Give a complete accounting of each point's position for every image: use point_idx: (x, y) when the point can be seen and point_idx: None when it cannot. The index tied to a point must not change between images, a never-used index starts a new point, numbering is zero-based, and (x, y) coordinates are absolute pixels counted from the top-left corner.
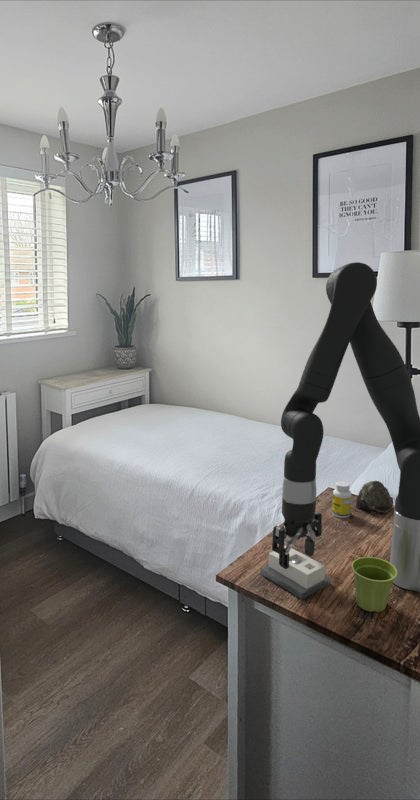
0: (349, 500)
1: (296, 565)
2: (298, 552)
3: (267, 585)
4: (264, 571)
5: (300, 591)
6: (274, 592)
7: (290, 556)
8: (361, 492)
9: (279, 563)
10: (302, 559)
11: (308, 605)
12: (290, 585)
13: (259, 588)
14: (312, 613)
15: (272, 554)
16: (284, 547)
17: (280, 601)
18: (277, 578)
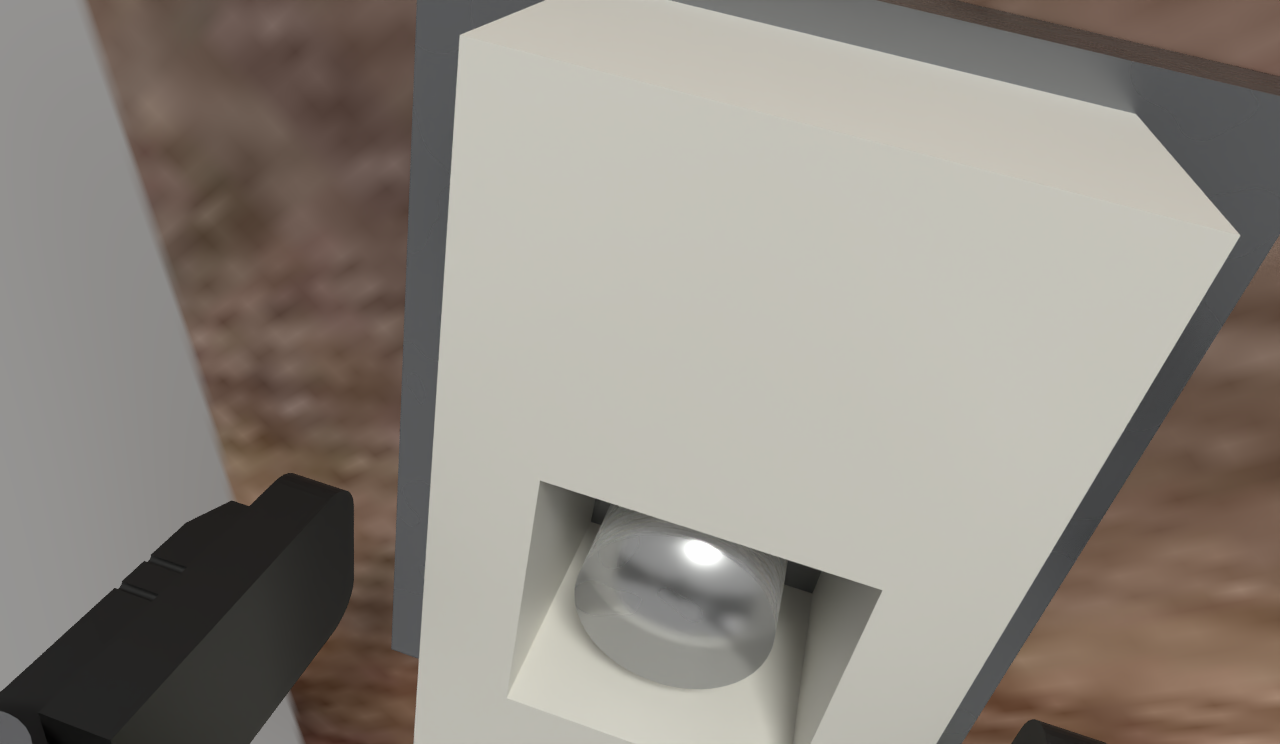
0: None
1: (488, 696)
2: (976, 619)
3: (336, 170)
4: (427, 5)
5: (404, 628)
6: (300, 319)
7: (701, 528)
8: None
9: (186, 535)
10: (828, 678)
11: (404, 656)
12: (413, 509)
13: (205, 116)
14: (344, 701)
15: (476, 157)
16: (1049, 250)
17: (241, 438)
18: (405, 312)
